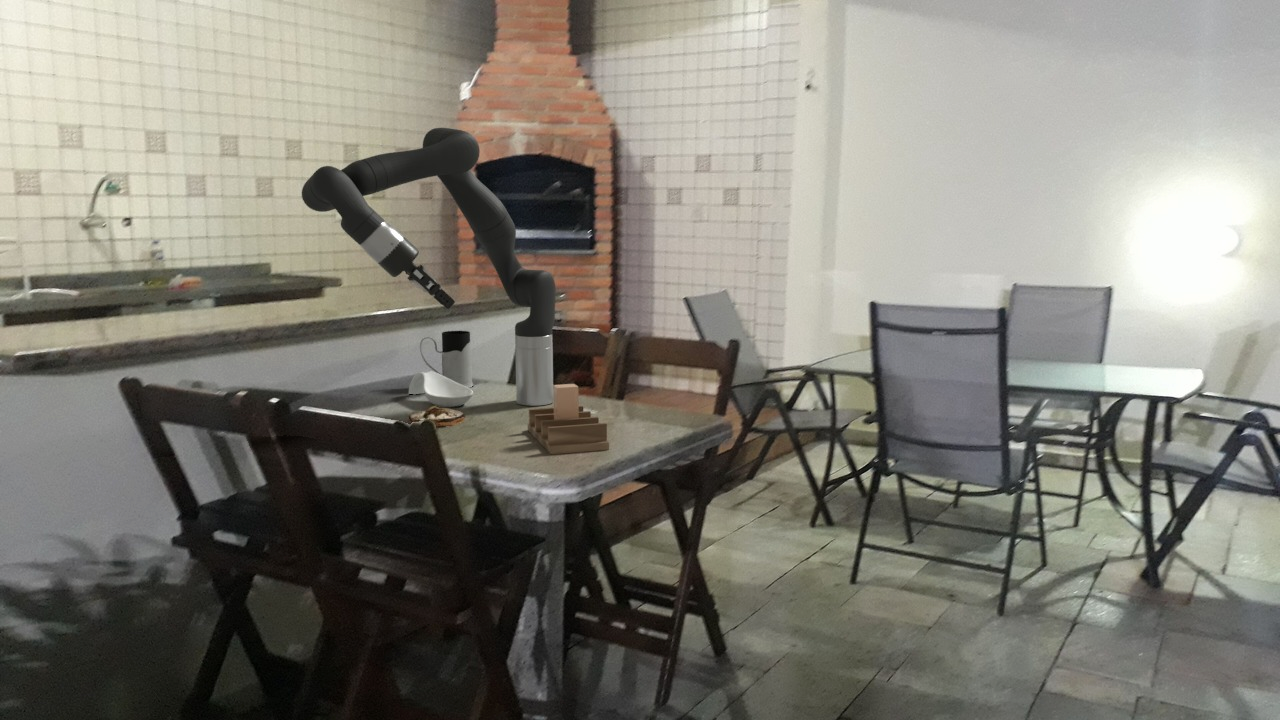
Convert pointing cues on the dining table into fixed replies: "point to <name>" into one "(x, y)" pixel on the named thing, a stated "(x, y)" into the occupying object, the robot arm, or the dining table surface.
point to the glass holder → (455, 356)
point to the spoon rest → (440, 389)
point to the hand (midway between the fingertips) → (449, 303)
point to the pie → (438, 416)
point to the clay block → (566, 401)
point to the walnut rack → (568, 431)
